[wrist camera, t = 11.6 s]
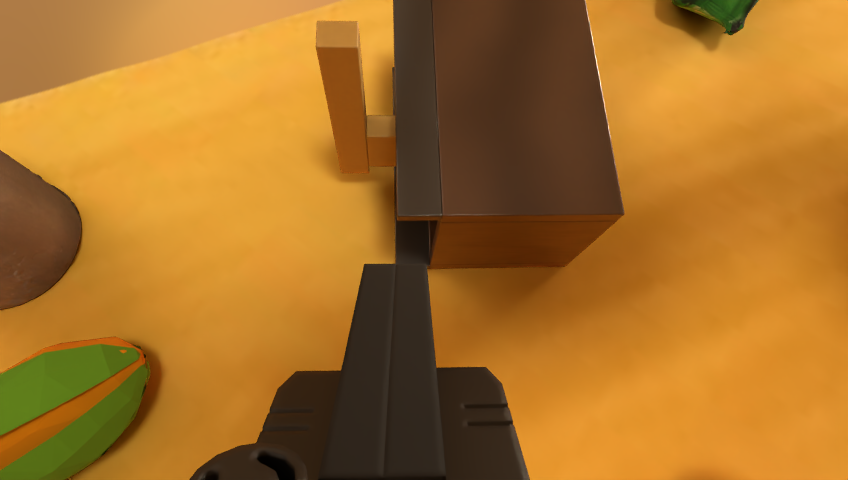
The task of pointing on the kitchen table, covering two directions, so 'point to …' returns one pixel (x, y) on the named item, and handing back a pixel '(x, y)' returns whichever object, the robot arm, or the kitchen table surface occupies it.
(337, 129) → the sliding door
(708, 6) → the snack package
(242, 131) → the kitchen table surface
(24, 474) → the corn
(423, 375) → the robot arm
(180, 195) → the kitchen table surface
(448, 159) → the box
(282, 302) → the kitchen table surface
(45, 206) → the pillar candle
